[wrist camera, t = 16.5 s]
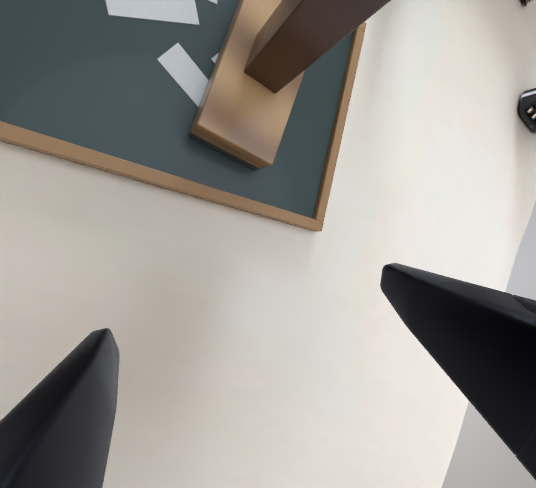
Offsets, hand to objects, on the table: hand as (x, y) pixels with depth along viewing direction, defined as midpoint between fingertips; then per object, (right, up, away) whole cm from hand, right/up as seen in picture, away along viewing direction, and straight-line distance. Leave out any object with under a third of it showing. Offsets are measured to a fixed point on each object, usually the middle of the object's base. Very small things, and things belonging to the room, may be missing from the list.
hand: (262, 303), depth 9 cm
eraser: (-1, +13, +11) cm, 17 cm away
